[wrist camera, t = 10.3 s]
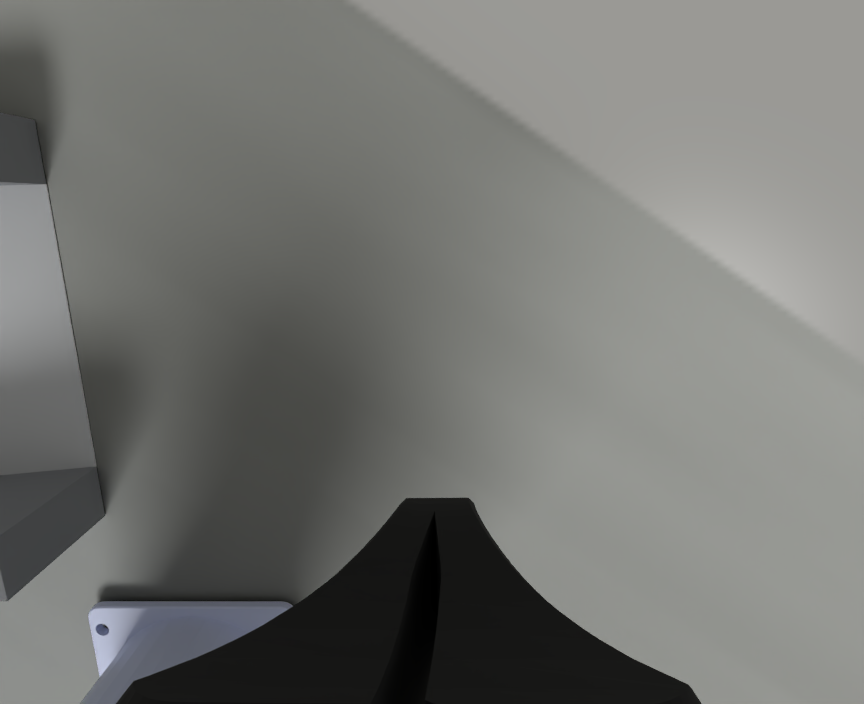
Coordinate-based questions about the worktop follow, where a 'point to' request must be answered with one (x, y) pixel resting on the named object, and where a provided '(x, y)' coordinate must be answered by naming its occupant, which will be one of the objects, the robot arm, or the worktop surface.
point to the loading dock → (37, 378)
